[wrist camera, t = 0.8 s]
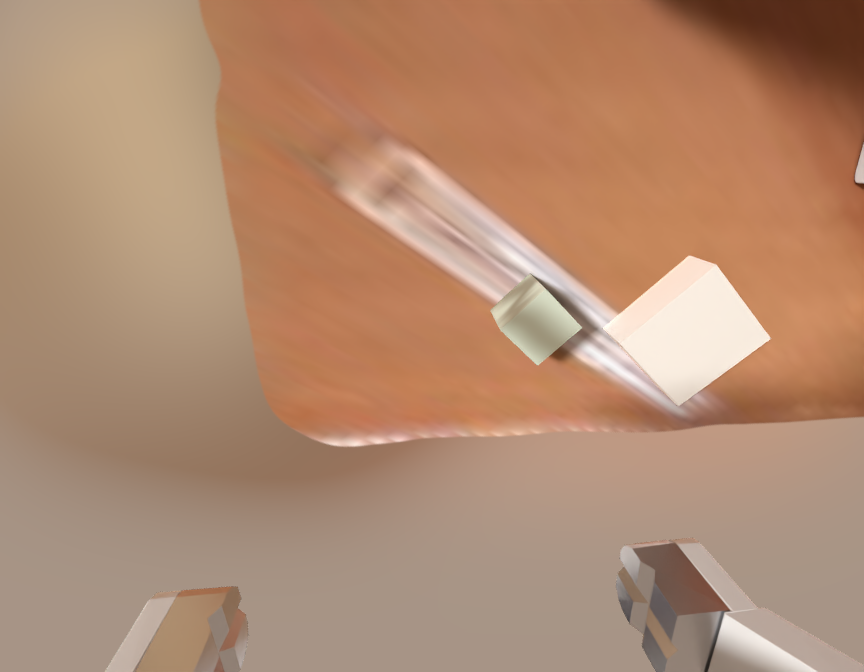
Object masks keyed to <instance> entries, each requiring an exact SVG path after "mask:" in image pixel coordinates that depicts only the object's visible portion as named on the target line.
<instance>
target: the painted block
mask: <svg viewBox="0 0 864 672" xmlns="http://www.w3.org/2000/svg"><path fill="white" fill-rule="evenodd" d="M603 329H604V330H605V332H606V333H607V334H608V335H609V336H610V337H611V338H612V339H613V340H614V341H615V342H616V343H617V344H618V346H619V347H620V348H621V349H622V350H623V351H624V352H625V353H626V354H627V355H628V356H629V357H630V358H631V359H632V361H633V362H634V363H635V364H636V365H637V366H638V367H639V368H640V369H641V370H642V371H643V372H644V373H645V374H646V376H647V377H648V378H649V379H650V380H651V381H652V382H653V383H654V384H655V385H656V386H657V387H658V388H659V389H660V390H661V391H662V392H663V393H664V394H665V395H666V396H667V397H668V398H670V399H671V400H672V401H673V402H674V403H675V404H676V405H677V406H680V405H681V404H682V403H684V402H685V401H687V400H688V399H689V398H691V397H692V396H693V395H695V394H696V393H698V392H699V391H700V390H702V389H703V388H704V387H706V386H707V385H708V384H710V383H711V382H713V381H714V380H715V379H717V378H718V377H719V376H721V375H722V374H723V373H725V372H726V371H728V370H729V369H730V368H732V367H733V366H734V365H736V364H737V363H738V362H740V361H741V360H743V359H744V358H745V357H747V356H748V355H749V354H751V353H752V352H753V351H755V350H756V349H758V348H759V347H760V346H762V345H763V344H764V343H766V342H767V341H768V340H770V339H771V338H770V337H769V335H768V334H767V333H766V331H765V330H764V329H763V327H762V326H761V325H760V323H759V322H758V320H757V319H756V318H755V316H754V315H753V314H752V312H751V311H750V310H749V308H748V307H747V306H746V304H745V303H744V302H743V300H742V299H741V297H740V296H739V295H738V293H737V292H736V291H735V289H734V288H733V287H732V285H731V284H730V283H729V281H728V280H727V279H726V277H725V276H724V274H723V273H722V272H721V270H720V269H719V268H718V266H717V265H715V264H712V263H710V262H707V261H704V260H701V259H698V258H695V257H692V256H688V257H687V258H686V259H684V260H683V261H682V262H681V263H680V264H678V265H677V266H676V267H675V268H674V269H673V270H671V271H670V272H669V273H668V274H667V275H665V276H664V277H663V278H662V279H661V280H659V281H658V282H657V283H656V284H655V285H653V286H652V287H651V288H650V289H649V290H648V291H646V292H645V293H644V294H643V295H642V296H640V297H639V298H638V299H637V300H636V301H634V302H633V303H632V304H631V305H630V306H628V307H627V308H626V309H625V310H624V311H623V312H621V313H620V314H619V315H618V316H617V317H615V318H614V319H613V320H612V321H611V322H609V323H608V324H607V325H606V326H605V327H604V328H603Z"/></svg>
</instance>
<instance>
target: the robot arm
mask: <svg viewBox="0 0 864 672" xmlns="http://www.w3.org/2000/svg"><path fill="white" fill-rule="evenodd" d="M620 560H621V562H622V563H623V565H624V567H623V568H622V569H621V570H620V571H619V573H618V574H617V581H616V588H617V594H618V599H619V602H620V605H621V608H622V610H623V612H624V614H625V616H626V618H627V620H628V622H629V623H630V625H632V626H633V627H634V628H636V629H637V630H638V631H640V632H641V633H642V634H643V640H642V648H643V649H644V651H645V653H646V655H647V657H648V659H649V660H650V662H651V664H652V666H653V668H654V669H655V671H656V672H864V665H862V664H861V663H859V662H857V661H856V660H854V659H852V658H850V657H849V656H847V655H845V654H844V653H842V652H840V651H839V650H837V649H835V648H833V647H832V646H830V645H828V644H827V643H825V642H823V641H821V640H820V639H818V638H816V637H815V636H813V635H811V634H809V633H808V632H806V631H804V630H803V629H801V628H799V627H797V626H796V625H794V624H792V623H791V622H789V621H787V620H786V619H784V618H782V617H780V616H779V615H777V614H775V613H774V612H772V611H770V610H768V609H767V608H757V607H756V605H755V604H754V603H753V602H752V601H751V600H750V599H749V597H747V595H746V594H745V593H744V592H743V591H742V590H741V588H740V587H739V586H738V585H737V584H736V583H735V582H734V581H733V579H732V578H731V577H730V576H729V575H728V574H727V573H726V572H725V570H724V569H723V568H722V567H721V566H720V565H719V564H718V562H717V561H716V560H715V559H714V558H713V557H712V556H711V555H710V553H708V551H707V550H706V549H705V548H704V547H703V546H702V545H701V543H699V541H697V540H695V539H693V538H684V539H675V540H662V541H653V542H646V543H637V544H629V545H624V546H623V548H622V549H621V553H620ZM240 601H241V595H240V592H239V589H238V587H236V586H235V587H234V586H231V587H218V588H204V589H191V590H182V591H171V592H158V593H157V594H155V595H154V596H153V597H152V598H151V599H150V600H149V601H148V602H147V604H146V605H145V607H144V609H143V611H142V612H141V614H140V615H139V617H138V619H137V620H136V622H135V623H134V625H133V627H132V628H131V630H130V632H129V633H128V635H127V636H126V638H125V640H124V641H123V643H122V645H121V646H120V648H119V649H118V651H117V653H116V654H115V656H114V658H113V659H112V661H111V663H110V664H109V666H108V667H107V669H106V671H105V672H239V671H240V670H241V666H242V663H243V660H244V657H245V653H246V648H247V641H248V621H247V617H246V614H245V613H244V612H242V611H241V610H239V609H238V606H239V603H240Z"/></svg>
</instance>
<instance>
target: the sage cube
mask: <svg viewBox="0 0 864 672" xmlns="http://www.w3.org/2000/svg"><path fill="white" fill-rule="evenodd" d="M490 311H491V313H492V315H493V317H494V319H495V321H496V323H497V325H498V326H499V328H500V330H501V331H502V332H503V333H504V334H505V335H506V336H507V337H508V338H509V339H510V340H511V341H512V342H513V343H514V344H515V345H517V346H518V347H519V348H520V349H521V350H522V351H523V352H524V353H525V354H526V355H527V356H528V357H529V358H530V359H531V360H532V361H533V362H534V363H535V364H536V365H537V366H538V365H539V364H540V363H541V362H543V361H544V360H545V359H546V358H547V357H548V356H550V355H551V354H552V353H553V352H554V351H556V350H557V349H558V348H559V347H560V346H562V345H563V344H564V343H565V342H566V341H567V340H569V339H570V338H571V337H572V336H573V335H575V334H576V333H577V332H578V331H579V330H580V329H582V327H581V326H580V325H579V324H578V323H577V322H576V320H575V319H574V318H573V317H572V316H571V315H570V314H569V313H568V312H567V311H566V310H565V309H564V308H563V307H562V306H561V304H560V303H559V302H558V301H557V300H556V299H555V298H554V297H553V296H552V295H551V294H550V293H549V292H548V291H547V290H546V289H545V288H544V287H543V286H542V285H541V284H540V283H539V282H538V281H537V280H536V279H535V278H534V277H533V276H532V275H531V274H529V275H528V276H527V277H525V278H524V279H523V280H522V281H521V282H520V283H519V284H518V285H517V286H516V287H515V288H514V289H513V290H511V291H510V292H509V293H508V294H507V295H506V296H505V297H504V298H503V299H502V300H501V301H500V302H498V303H497V304H496V305H495V306H494V307H493V308H492V309H491V310H490Z"/></svg>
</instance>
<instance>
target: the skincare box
mask: <svg viewBox="0 0 864 672" xmlns="http://www.w3.org/2000/svg"><path fill="white" fill-rule="evenodd" d="M855 182H856V183H864V144H863V147H862V151H861V154H860V158H859V162H858V166H857V169H856V173H855Z"/></svg>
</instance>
